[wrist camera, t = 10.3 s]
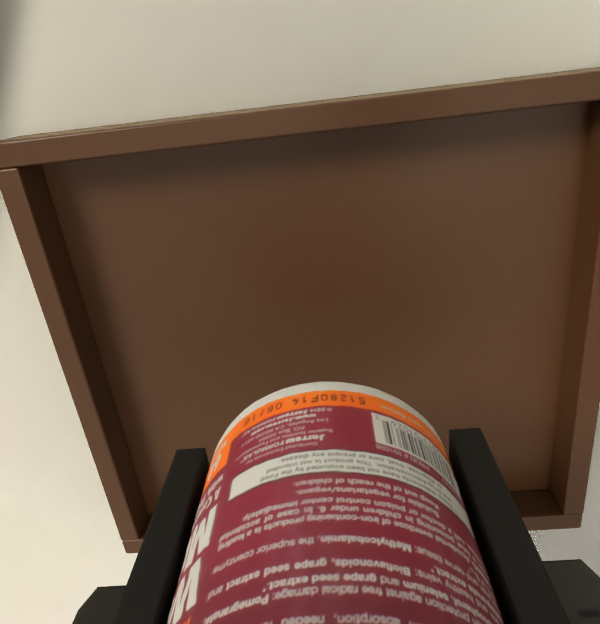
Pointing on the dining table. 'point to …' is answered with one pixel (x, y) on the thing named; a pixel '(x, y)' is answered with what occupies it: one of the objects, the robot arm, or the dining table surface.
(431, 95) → the tray
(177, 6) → the dining table surface
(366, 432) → the pill bottle
